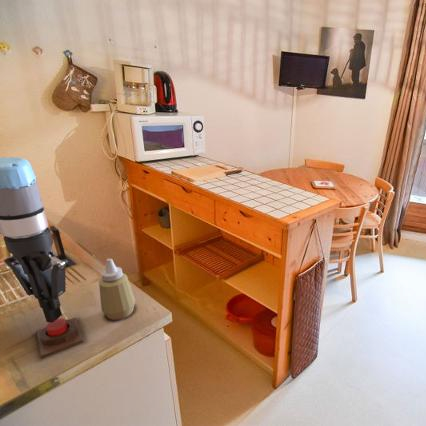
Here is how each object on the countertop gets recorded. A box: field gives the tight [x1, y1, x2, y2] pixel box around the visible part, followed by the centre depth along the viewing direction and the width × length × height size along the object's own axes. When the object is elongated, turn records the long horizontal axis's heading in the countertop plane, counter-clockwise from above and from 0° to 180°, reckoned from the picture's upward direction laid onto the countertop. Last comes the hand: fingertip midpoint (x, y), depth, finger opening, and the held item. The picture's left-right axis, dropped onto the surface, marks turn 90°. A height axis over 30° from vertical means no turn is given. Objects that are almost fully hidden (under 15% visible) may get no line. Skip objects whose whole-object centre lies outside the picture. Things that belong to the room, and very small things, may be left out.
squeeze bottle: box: [98, 257, 136, 321], centre depth 86 cm, size 8×8×18 cm
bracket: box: [49, 225, 77, 269], centre depth 105 cm, size 10×8×14 cm
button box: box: [36, 316, 84, 359], centre depth 79 cm, size 10×8×4 cm
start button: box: [45, 318, 68, 336], centre depth 78 cm, size 4×4×2 cm
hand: (54, 318), depth 77 cm, fingers closed
